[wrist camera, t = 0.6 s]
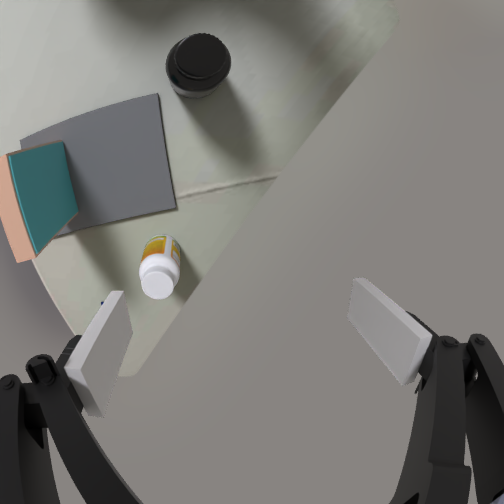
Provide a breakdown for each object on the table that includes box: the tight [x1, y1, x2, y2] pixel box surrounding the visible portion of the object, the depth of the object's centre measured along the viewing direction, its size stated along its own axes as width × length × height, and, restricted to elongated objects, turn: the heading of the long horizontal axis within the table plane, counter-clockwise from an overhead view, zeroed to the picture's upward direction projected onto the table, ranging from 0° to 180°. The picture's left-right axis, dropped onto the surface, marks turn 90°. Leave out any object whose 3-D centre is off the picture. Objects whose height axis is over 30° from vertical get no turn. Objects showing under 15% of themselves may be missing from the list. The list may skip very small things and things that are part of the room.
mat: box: [20, 93, 176, 236], centre depth 32 cm, size 22×16×1 cm
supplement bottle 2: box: [166, 33, 231, 98], centre depth 25 cm, size 7×7×12 cm
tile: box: [0, 140, 79, 263], centre depth 25 cm, size 3×11×14 cm, turn 6°
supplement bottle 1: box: [139, 235, 180, 299], centre depth 36 cm, size 5×5×10 cm
